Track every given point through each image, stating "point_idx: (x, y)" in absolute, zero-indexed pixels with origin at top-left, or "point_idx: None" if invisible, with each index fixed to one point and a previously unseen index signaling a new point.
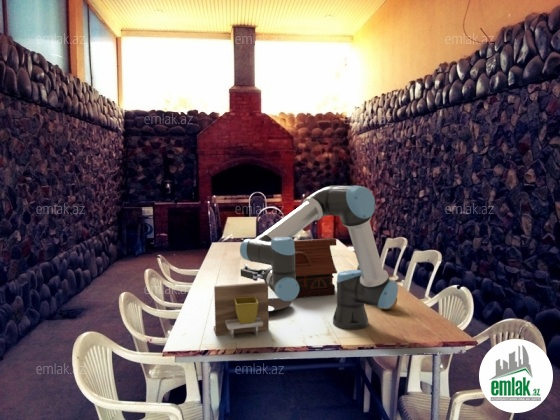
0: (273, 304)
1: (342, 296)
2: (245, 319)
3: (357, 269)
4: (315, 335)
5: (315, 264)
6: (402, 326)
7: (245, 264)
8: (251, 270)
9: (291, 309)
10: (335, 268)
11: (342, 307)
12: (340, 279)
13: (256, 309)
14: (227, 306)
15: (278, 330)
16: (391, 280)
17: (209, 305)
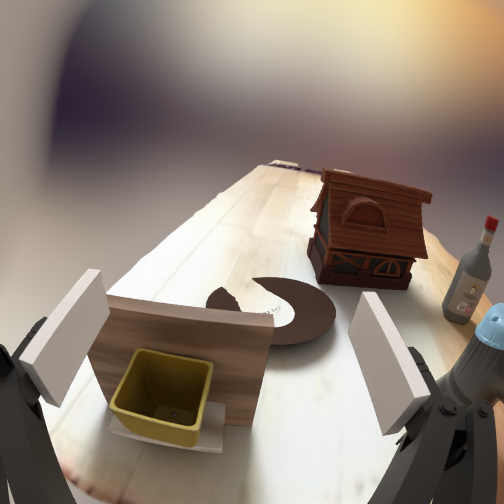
0: (296, 300)
1: (479, 384)
2: (156, 439)
3: (466, 265)
4: (372, 482)
5: (394, 232)
6: None
7: (83, 279)
8: (2, 440)
9: (330, 327)
10: (425, 248)
11: (462, 404)
12: (500, 342)
13: (191, 439)
14: (120, 361)
15: (278, 435)
16: None
17: (174, 270)
